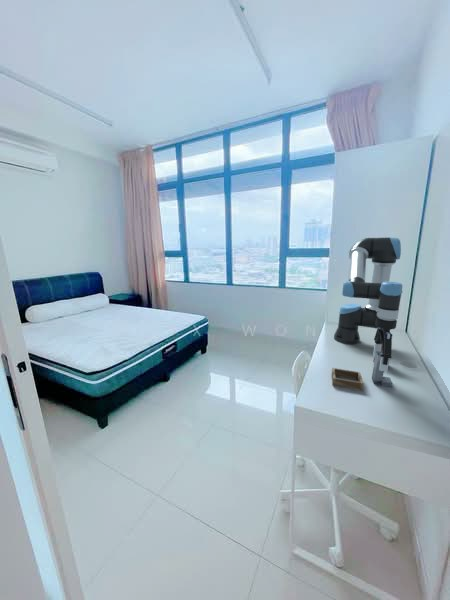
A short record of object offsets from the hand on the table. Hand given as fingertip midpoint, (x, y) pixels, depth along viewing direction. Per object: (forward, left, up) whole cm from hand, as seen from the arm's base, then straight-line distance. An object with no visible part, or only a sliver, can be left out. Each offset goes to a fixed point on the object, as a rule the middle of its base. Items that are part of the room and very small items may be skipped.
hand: (379, 363), depth 110 cm
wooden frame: (+5, -13, -9) cm, 17 cm away
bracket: (0, +2, -9) cm, 10 cm away
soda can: (-20, +5, -10) cm, 23 cm away
